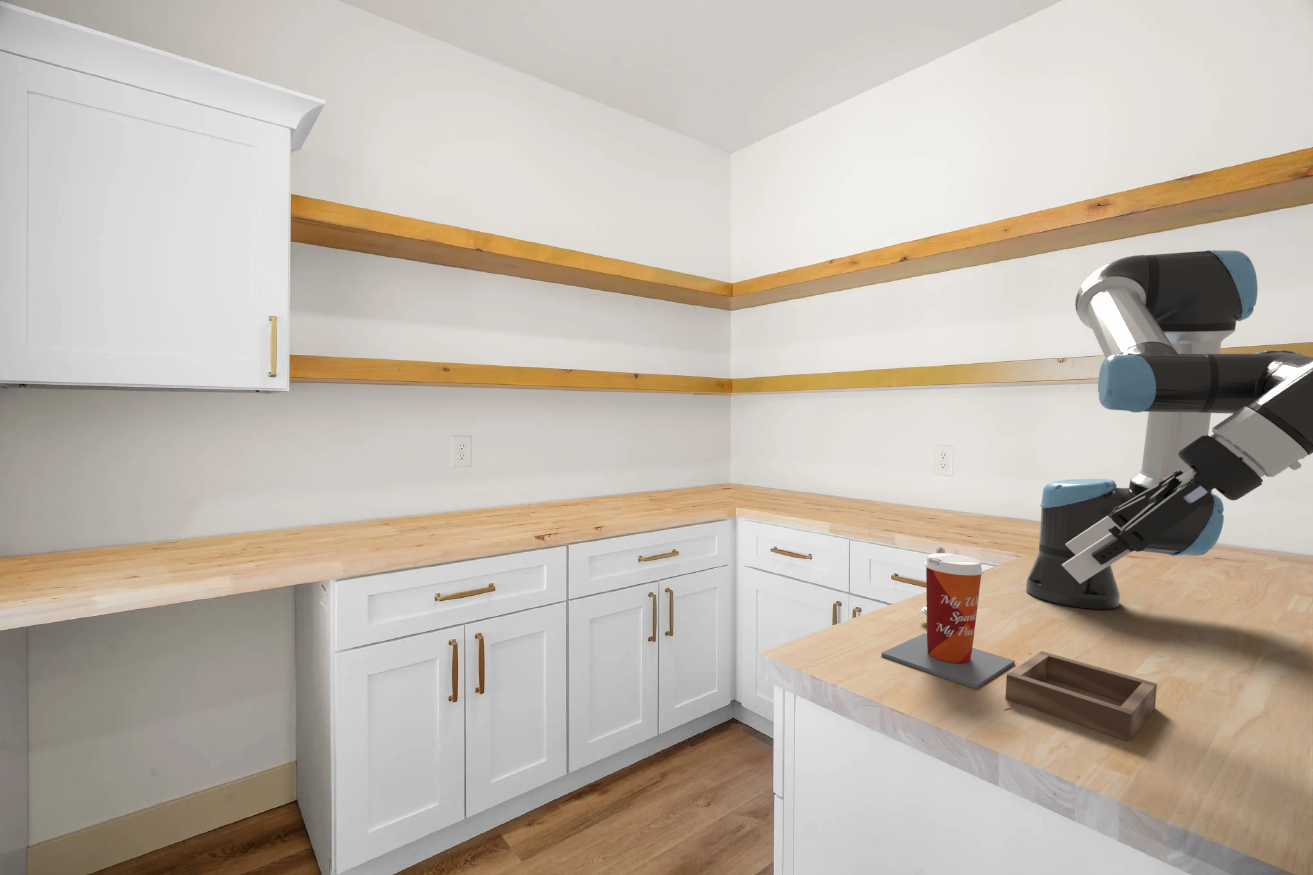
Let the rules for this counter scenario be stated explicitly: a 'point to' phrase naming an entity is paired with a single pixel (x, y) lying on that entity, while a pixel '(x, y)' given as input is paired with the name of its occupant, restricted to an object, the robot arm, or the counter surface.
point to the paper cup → (951, 605)
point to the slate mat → (967, 674)
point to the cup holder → (1080, 708)
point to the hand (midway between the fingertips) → (1071, 562)
